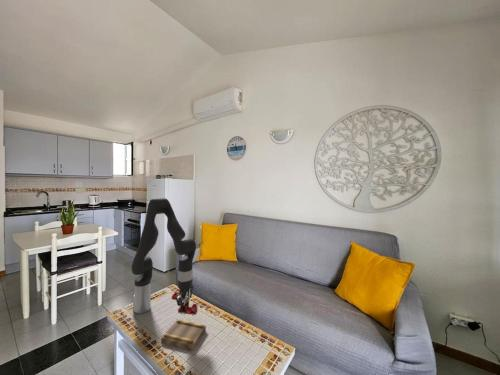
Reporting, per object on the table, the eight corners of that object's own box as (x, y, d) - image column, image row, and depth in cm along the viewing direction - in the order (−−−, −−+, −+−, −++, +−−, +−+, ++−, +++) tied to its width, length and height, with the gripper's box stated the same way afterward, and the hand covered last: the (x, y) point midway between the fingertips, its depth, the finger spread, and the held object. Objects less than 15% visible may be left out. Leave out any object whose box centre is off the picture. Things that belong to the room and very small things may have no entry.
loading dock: (161, 343, 105) (161, 335, 105) (177, 324, 119) (177, 317, 119) (192, 351, 101) (192, 343, 101) (205, 331, 115) (205, 324, 115)
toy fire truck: (195, 315, 107) (196, 297, 107) (171, 313, 109) (171, 295, 109) (198, 311, 111) (198, 294, 110) (174, 309, 112) (174, 291, 112)
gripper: (186, 271, 117) (185, 300, 117) (170, 282, 103) (170, 316, 104) (198, 272, 115) (197, 303, 116) (184, 285, 101) (183, 319, 102)
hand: (184, 309), depth 110 cm, fingers closed on toy fire truck, 3 cm apart
